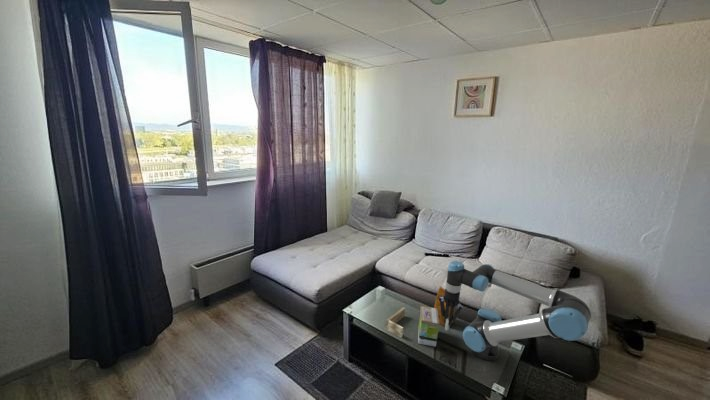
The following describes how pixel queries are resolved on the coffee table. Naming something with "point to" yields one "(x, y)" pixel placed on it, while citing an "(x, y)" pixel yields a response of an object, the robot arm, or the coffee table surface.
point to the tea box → (428, 326)
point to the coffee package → (437, 305)
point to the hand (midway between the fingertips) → (446, 328)
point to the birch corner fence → (392, 322)
